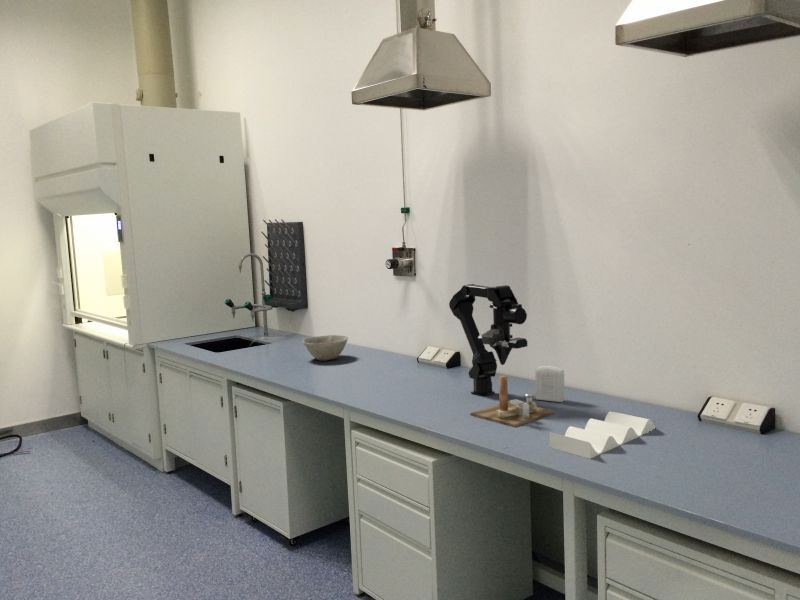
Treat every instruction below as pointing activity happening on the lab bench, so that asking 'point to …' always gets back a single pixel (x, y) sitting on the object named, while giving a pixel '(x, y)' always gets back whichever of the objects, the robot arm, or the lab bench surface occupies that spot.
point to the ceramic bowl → (325, 346)
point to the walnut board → (510, 420)
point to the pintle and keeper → (523, 405)
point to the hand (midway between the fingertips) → (502, 364)
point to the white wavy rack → (601, 434)
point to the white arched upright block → (549, 383)
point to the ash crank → (504, 408)
